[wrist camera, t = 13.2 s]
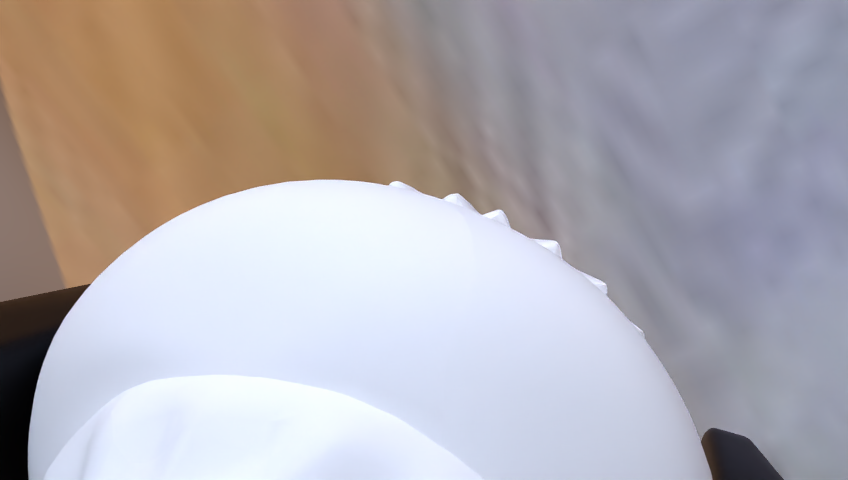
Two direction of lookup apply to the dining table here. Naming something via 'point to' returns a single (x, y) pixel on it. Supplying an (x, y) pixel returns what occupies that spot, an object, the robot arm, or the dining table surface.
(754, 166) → the dining table surface
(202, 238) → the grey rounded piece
